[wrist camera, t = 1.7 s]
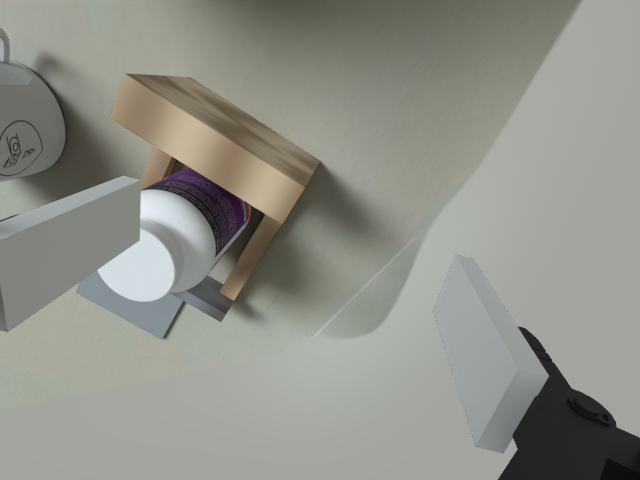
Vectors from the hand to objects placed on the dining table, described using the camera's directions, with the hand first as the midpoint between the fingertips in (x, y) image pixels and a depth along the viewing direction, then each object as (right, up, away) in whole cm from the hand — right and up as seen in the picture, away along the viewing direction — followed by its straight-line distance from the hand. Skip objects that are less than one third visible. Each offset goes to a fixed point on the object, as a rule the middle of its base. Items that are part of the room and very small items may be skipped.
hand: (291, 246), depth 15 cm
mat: (-20, -5, +27) cm, 34 cm away
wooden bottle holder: (-10, +3, +22) cm, 25 cm away
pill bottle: (-9, +4, +22) cm, 24 cm away
